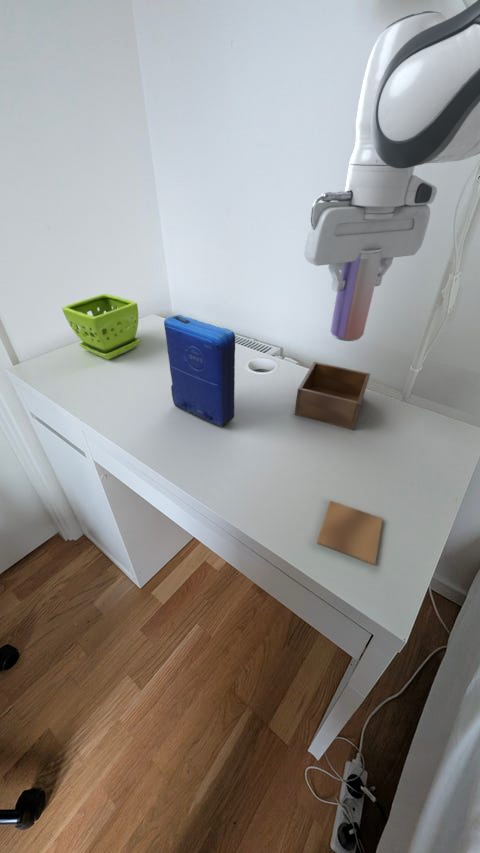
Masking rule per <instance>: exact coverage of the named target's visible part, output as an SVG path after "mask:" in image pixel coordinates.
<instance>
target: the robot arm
mask: <svg viewBox="0 0 480 853" xmlns="http://www.w3.org/2000/svg"><path fill="white" fill-rule="evenodd" d="M479 154H480V0H476V1H475V2H474V3H472V4H471V5H469V6H468V7H466V8H465V9H463V10H462V11H461V12H459V13H457V14H455V15H453V16H451V17H449V18H448V19H447V18H446V16H445V15H444V14H443V13H442V12H438V11H434V10H433V11H432V10H425V11H422V12H419V13H412V14H409V15H406V16H404V17H401V18H399V19H398V20H396V21H393V22H392V23H391V24H390V25H388V26H387V27H386V28H385V29H384V30H383V31H382V32H381V33H380V34H379V35H378V37H377V38H376V40H375V42H374V45H373V47H372V49H371V52H370V55H369V58H368V61H367V64H366V68H365V73H364V77H363V81H362V85H361V91H360V96H359V101H358V108H357V114H356V120H355V145H354V148H353V152H352V154H351V156H350V159H349V165H348V170H347V176H346V182H345V189H344V190H343V191H342V190H341V191H337V192H332V191H326V192H323V193H322V194H321V195H320V196H318V198H316V199H315V200H314V202H312V205H311V208H310V209H311V210H310V218H309V222H310V223H309V227H308V231H307V234H306V240H305V246H304V253H303V254H304V258H305V259H306V261H307V262H308V263H310V264H312V265H314V266H317V267H319V266H327V265H328V271H329V273H330V276H331V279H332V282H331V290H332V291H334V292H337V291H343V290H344V289H345V285H346V280H345V279H342V277H341V274H340V272H341V270H343V266H344V263H348V262H355V261H356V260H357V258H358V257H359V255H360V251H361V250H364V251H368V250H379V249H381V248H382V251H381V252H382V258H381V262H380V266H379V270H378V275H377V279H376V283H375V287H379V286H381V285H382V281H383V278H384V277H383V276H385V274H386V273H387V272H388V270H389V269H390V267H391V266H392V264H393V260H394V258H401V257H410V256H411V257H413V256H415V255H416V254H417V253H418V252H419V250H420V249H421V247H422V246H423V243H424V240H425V237H426V233H427V229H428V226H429V222H430V218H431V208H430V206H429V205H431V204H432V203H434V201H435V200H436V199H435V198H436V196H437V192H438V187H437V186H436V185H433V184H432V183H430V182H428V181H426V180H424V179H422V178H421V177H419V176H418V175H415V174H414V171H415V168H416V166H422V165H425V164H441V163H450V162H452V163H453V162H459V161H464V160H467V159H470V158H472V157H474V156H477V155H479Z"/></svg>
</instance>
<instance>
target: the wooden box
mask: <svg viewBox="0 0 480 853" xmlns="http://www.w3.org/2000/svg"><path fill="white" fill-rule="evenodd" d="M370 376H371V373H370V372H364V371H360V370H355V369H351V368H346V367H340V366H336V365H332V364H326V363H323V362H317V361H313V362H312V364H311V366H310V367H309V369H308V371H307V373H306V374H305V376H304V377H303V379H302V381H301V383H300V385H299V386H298V388H297V392H296V400H295V405H294V406H295V407H294V415H295V416H299V417H303V418H305V419H310V420H314V421H317V422H321V423H324V424H328V425H333V426H336V427H339V428H343V429H346V430H350V431H354V429H355V426H356V423H357V420H358V416H359V413H360V410H361V407H362V404H363V400H364V397H365V394H366V390H367V387H368V383H369V380H370Z"/></svg>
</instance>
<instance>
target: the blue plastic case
mask: <svg viewBox="0 0 480 853" xmlns="http://www.w3.org/2000/svg"><path fill="white" fill-rule="evenodd" d="M163 328H164V331H165V332H164V333H165V341H166V350H167V355H168V356H167V358H168V363H169V371H170V377H171V378H170V379H171V386H170V389H171V397H172V402H173V405H174V406H175V407H177V408H178V409H179V410H183V411H185V412H186V413H189V414H191V415H193V416H195V417H197V418H199V419H201V420H204V421H206V422H208V423H210V424H212V425H217V426H219V427H222V428H223V427H224V426H226V425H227V424H228V423H229V422H230V421H232V420H233V419H234V417H235V384H236V383H235V382H236V381H235V378H236V373H235V372H236V368H235V367H236V334H235V332H234V331H233V330H231V329H229V328H225V327H220V326H216V325H213V324H210V323H205V322H203V321H200V320H198V319H193V318H191V317H187V316H185V315H182V314H176V315H172V316H170V317H169V316H168V317H167V318H165V319H164V321H163Z"/></svg>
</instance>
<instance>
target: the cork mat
mask: <svg viewBox="0 0 480 853" xmlns="http://www.w3.org/2000/svg"><path fill="white" fill-rule="evenodd" d="M382 525H383V518H382V517H380V516H377V515H374V514H371V513H368V512H365V511H362V510H359V509H356V508H353V507H350V506H348V505H344V504H342V503H339V502H336V501H332V500H330V501H329V504H328V507H327V510H326V512H325V516H324V520H323V523H322V526H321V529H320V533H319V536H318V537H317V538H318V540H317V543H316V544H317V545H320V546H323V547H326V548H329V549H331V550H333V551H336V552H338V553H341V554H344V555H347V556H349V557H352V558H355V559H357V560H359V561H362V562H365V563H367V564H370V565H373V566H376V564H377V563H376V562H377V557H378V550H379V544H380V538H381V532H382Z"/></svg>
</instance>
